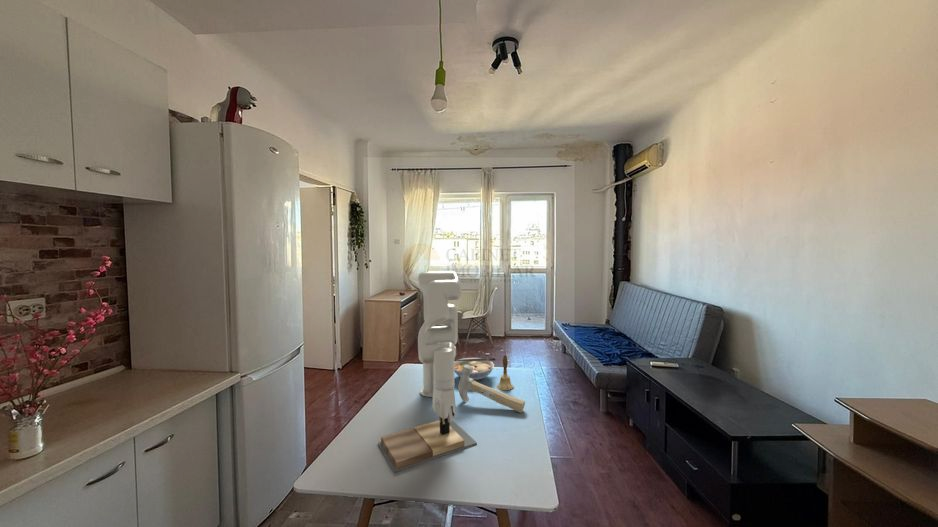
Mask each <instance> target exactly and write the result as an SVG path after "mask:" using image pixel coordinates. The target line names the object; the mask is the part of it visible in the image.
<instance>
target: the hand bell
mask: <svg viewBox="0 0 938 527" xmlns="http://www.w3.org/2000/svg"><path fill="white" fill-rule="evenodd" d="M508 362H509V360H508V356H507V355H506V354H503V357H502V367H503V373H502V375H500V379H499V383H498V384H497V385H496V389H497V390H500V389H501V390H500V391H511V390H513V389H514V388H515V386H514V385H513V384H512V382H511V378H510V376H509V375H508V370H507V368H508ZM512 388H513V389H512ZM510 389H511V390H510Z"/></svg>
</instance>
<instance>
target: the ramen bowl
mask: <svg viewBox="0 0 938 527" xmlns="http://www.w3.org/2000/svg"><path fill="white" fill-rule="evenodd" d="M493 361H496V358H495V357H488V358H484V357H483V358H481V357H465V358H460V359H454V374H455V375H456V376H458V377H459V378H461V376H462V368H463V367H464V365H470V366H472V367H473V371H472V374H470V375H469V378H472V379H473V381H476V382H477V381H479V380H482V379H485V378H486V377H488V376H489V375H490V374H491V373H492V371H493V370H494V367H495V364H494V362H493Z"/></svg>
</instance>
